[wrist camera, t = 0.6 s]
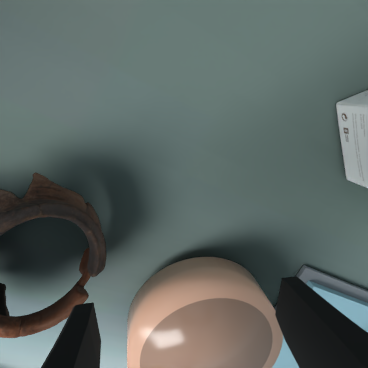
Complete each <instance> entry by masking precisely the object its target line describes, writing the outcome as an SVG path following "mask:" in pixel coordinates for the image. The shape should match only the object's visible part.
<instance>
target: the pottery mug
mask: <svg viewBox="0 0 368 368" xmlns="http://www.w3.org/2000/svg"><path fill="white" fill-rule="evenodd" d="M38 217H53V218H62V219H66V220H69V221H72V222H73V223H75V224H76V225H78V226H79V227H80V228H81V229H82V230H83V232H84V233H85V235H86V237H87V240H88V243H89V248H87V249H86V250H85V251H84V254H83V257H82V259H81V263H80V267H79V271H80V273H81V274H82V277H81V278H80V280H79V281H78V282H77V283H76V284H75V286H74V287H73V288H72V289H71V290H70V291H69V292H68V293H67V294H66V295H65V296H63V297H62V298H61V299H59V300H58V301H57V302H55V303H54V304H52V305H51V306H49V307H47V308H45V309H43V310H41V311H38V312H35V313H32V314H29V315H24V316H17V317H13V316H9V312H8V309H7V306H6V296H5V290H6V286H5V284H2V283H0V337H2V338H17V337H20V336H27V335H31V334H35V333H38V332H40V331H43V330H46V329H48V328H51V327H52V326H55V325H57V324H58V323H59V322H61V321H62V320H64V319H66V318H67V317H69V315H70V313H71V311H72V309H73V307H74V306H75V305H78V304H83V303H84V302H85V301H86V300H87V298H88V296H89V295H88V293H87V291H86V290H85V289H84V286H85V284H86V283H87V281H88V280H89V278H90V276H92V277H95V276H97V275H98V274H99V273H100V272H101V271H102V270H103V269H104V267H105V262H106V243H105V239H104V235H103V233H102V230H101V225H100V221H99V218H98V216H97V214H96V212H95V210H94V209H93V207H92V205H91V204H90V203H88V202H87V203H85V201H84V199H83V197H82V196H81V195H79V194H78V193H76V192H74V191H71V190H68V189H66V188H63V187H61V186H59V185H57V184H55V183H54V182H52V181H50V180H49V179H48V178H46V177H44V176H43V175H40V174H38V173H34V174H33V180H32V183H31V184H30V186H29V189H28V191H27V192H26V194H25V196H24V197H23V198H22V199H20V198H18V197H17V196H15V195H14V194H13V193H12V192H8V191H5V190H2V189H0V236H1V235H2V234H4V233H5V232H7V231H8V230H10V229H12V228H13V227H15V226H17V225H19V224H21V223H24V222H26V221H29V220H32V219H35V218H38Z"/></svg>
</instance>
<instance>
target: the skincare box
mask: <svg viewBox="0 0 368 368" xmlns="http://www.w3.org/2000/svg"><path fill="white" fill-rule="evenodd" d="M336 108H337V115H338V123H339V131H340V138H341V145H342V152H343V159H344V166H345V172H346V178H347V180H349V181H351V182H354V183H356V184H359V185H362V186H364V187H366V188H368V90H366V91H364V92H361V93H359V94H356V95H354V96H351V97H349V98H347V99H344V100H342V101H340V102H338V103H337V104H336Z"/></svg>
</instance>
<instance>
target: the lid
mask: <svg viewBox="0 0 368 368" xmlns="http://www.w3.org/2000/svg"><path fill="white" fill-rule="evenodd" d="M306 284H307V285H308V286H309V287H310V288H312V289H313V290H314V291H315V292H316V293H318V294H319V295H320V296H321V297H323V298H324V299H325V300H326V301H327V302H329V303H330V304H331V305H332V306H334V307H335V308H336V309H337V310H339V311H340V312H341V313H342V314H344V315H345V316H346V317H348V318H349V319H350V320H351V321H353V322H354V323H355V324H357V325H358V326H359V327H361V328H362V329H364V330H365V331H366V332H368V303H367V302H364V301H361V300H359V299H356V298H353V297H351V296H348V295H346V294H343V293H340V292H338V291H335V290H332V289H330V288H327V287H325V286H322V285H319V284H317V283H314V282H311V281H309V280H308V282H307V283H306ZM272 368H299V366H298V364H297V362H296V360H295V359H294V357H293V355H292V353H291V351H290V349H289V347H288V345H287V343H286V341H285V339H284V336H283V342H282V347H281V350H280V353H279V356H278V358H277V360H276V362H275V364H274V365H273V367H272Z"/></svg>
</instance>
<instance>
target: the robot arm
mask: <svg viewBox="0 0 368 368" xmlns="http://www.w3.org/2000/svg"><path fill="white" fill-rule="evenodd" d="M275 316H276V318H277V321H278V324H279V326H280V329H281V331H282V334H283V336H284V339H285V341H286V343H287V345H288V347H289V349H290V351H291V353H292V355H293V357H294V359H295V360H296V362H297V364H298V366H299V368H368V332H366V331H365V330H364V329H362V328H361V327H359V326H358V325H357V324H355V323H354V322H353V321H351V320H350V319H349V318H348V317H346V316H345V315H344V314H342V313H341V312H340V311H339V310H337V309H336V308H335V307H334V306H332V305H331V304H330V303H329V302H327V301H326V300H325V299H324V298H323V297H321V296H320V295H319V294H318V293H316V292H315V291H314V290H313V289H312V288H310V287H309V286H308V285H307V284H306V283H304V282H303V281H302V280H301V279H299V278H298V277H297V276H295V277H287V278H282V281H281V286H280V292H279V297H278V302H277V307H276V313H275ZM100 349H101V339H100V334H99V328H98V323H97V318H96V313H95V308H94V303H86V304H78V305H75V306H74V307H73V309H72V311H71V313H70V315H69V317H68V319H67V321H66V323H65V325H64V327H63V329H62V331H61V333H60V335H59V337H58V339H57V341H56V342H55V344H54V346H53V348H52V350H51V351H50V353H49V355H48V357H47V358H46V360H45V362H44V363H43V365H42V367H41V368H100Z"/></svg>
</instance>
